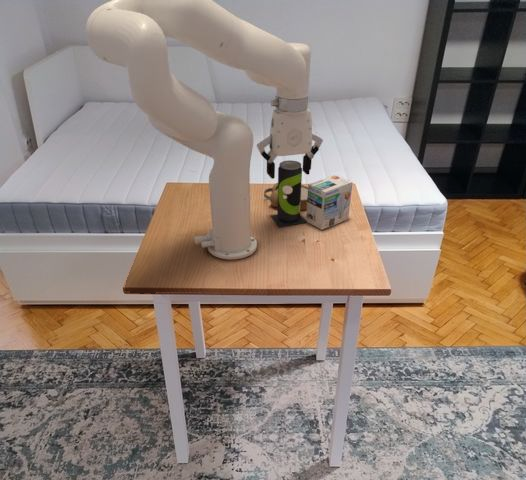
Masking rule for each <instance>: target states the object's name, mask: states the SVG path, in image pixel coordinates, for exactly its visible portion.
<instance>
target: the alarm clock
mask: <svg viewBox="0 0 526 480" xmlns="http://www.w3.org/2000/svg"><path fill="white" fill-rule="evenodd" d="M269 192H271V193H270V195H268V194H267V193H269ZM263 197H264V198H265V199H267V200H268V201H270V204H271V205H272V207H274V208H278V182H276V183H274V184H273V186H272V187H270V188H266V189H264V190H263ZM307 198H308V185H307V186H306V185H304V184H301V204H300V211H307Z"/></svg>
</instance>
